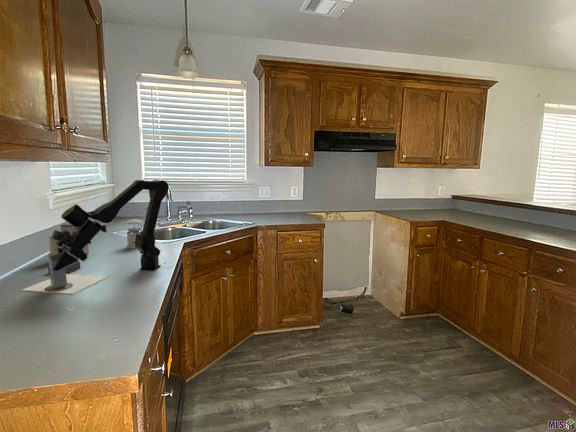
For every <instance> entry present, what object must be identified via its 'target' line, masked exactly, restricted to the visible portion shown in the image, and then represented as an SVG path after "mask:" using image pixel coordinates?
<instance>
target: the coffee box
mask: <svg viewBox="0 0 576 432" xmlns="http://www.w3.org/2000/svg"><path fill="white" fill-rule="evenodd" d="M81 227H82V226H81ZM81 227H79V226H77V227H74V226H72V225H71V224H70V223H65V224H60V231H62V232H63V231H64V230H65V231H69V232H70V234H72V233H73V232H77V231H78V230H79V229H80V228H81ZM89 250H90V249H89V244H87V245H86V246H85V247H84V249H83V252H85V253H86V254H87V255H88V254H90V251H89Z"/></svg>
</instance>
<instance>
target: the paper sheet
mask: <svg viewBox="0 0 576 432" xmlns="http://www.w3.org/2000/svg"><path fill="white" fill-rule="evenodd" d="M66 279H67V286H63V287H58V288H53V287H52V286H51V279H50V278H49V279H46V280H43V281H41V282H39V283H35V284H33V285H31V286H28V287H26V288H24V289H22V290H21V291H22V292H33V293H35V292H36V293H46V294H47V293H48V294H49V293H50V294H62V295H75V294H77V293H79V292H81V291H83V290H85V289H88V288H89V287H92V286H93V284H94V285H96V284H98V283H99V281H100V282H102V281H103V280H106V279H108V276H101V275H100V276H99V275H89V274H88V275H86V274H85V275H84V274H72V273H71V274H70V273H68V274H66ZM101 280H102V281H101ZM97 282H98V283H97ZM95 283H96V284H95ZM91 285H92V286H91Z"/></svg>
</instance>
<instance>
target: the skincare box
mask: <svg viewBox="0 0 576 432" xmlns="http://www.w3.org/2000/svg"><path fill="white" fill-rule="evenodd" d="M51 237H52V235H48V240H49V241H48V242H49V254H50V253H56V252H58V251H57V247H59V246H58V245H56V244H55V243H56V242H57V241H58V240H54V239H53V238H51Z"/></svg>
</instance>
